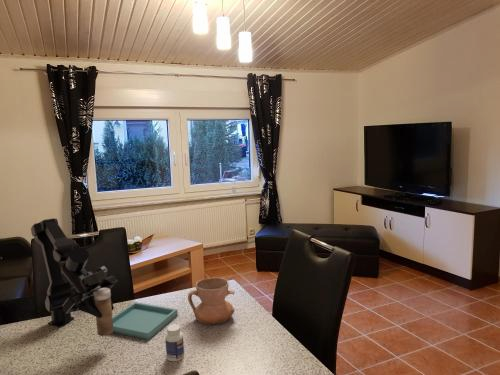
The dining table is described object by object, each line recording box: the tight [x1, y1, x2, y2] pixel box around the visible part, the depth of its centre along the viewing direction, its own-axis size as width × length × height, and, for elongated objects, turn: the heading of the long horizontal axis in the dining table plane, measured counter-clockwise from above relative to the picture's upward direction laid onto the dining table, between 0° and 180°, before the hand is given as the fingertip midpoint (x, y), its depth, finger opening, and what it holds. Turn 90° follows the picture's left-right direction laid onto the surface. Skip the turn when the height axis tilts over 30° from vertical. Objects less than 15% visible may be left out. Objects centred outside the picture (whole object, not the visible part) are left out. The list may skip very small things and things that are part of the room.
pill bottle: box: [164, 324, 185, 362], centre depth 111 cm, size 5×5×10 cm
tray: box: [111, 301, 179, 341], centre depth 133 cm, size 20×18×2 cm
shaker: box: [93, 288, 113, 337], centre depth 115 cm, size 5×5×14 cm
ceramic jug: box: [187, 277, 236, 326], centre depth 134 cm, size 18×14×14 cm
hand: (107, 313), depth 115 cm, fingers closed on shaker, 5 cm apart
